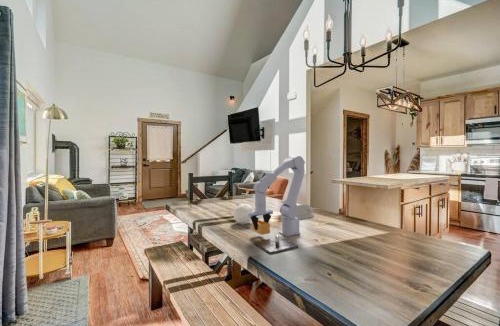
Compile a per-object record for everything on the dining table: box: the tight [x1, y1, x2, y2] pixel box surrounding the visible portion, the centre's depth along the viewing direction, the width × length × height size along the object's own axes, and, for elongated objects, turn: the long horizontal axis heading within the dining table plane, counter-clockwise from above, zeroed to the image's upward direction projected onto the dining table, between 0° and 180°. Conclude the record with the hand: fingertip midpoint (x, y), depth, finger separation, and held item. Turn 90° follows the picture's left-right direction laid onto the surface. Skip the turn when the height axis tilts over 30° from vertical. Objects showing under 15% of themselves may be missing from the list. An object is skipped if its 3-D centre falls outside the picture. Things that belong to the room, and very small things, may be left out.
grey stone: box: [296, 204, 315, 220], centre depth 179 cm, size 17×5×10 cm, turn 118°
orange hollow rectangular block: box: [251, 219, 271, 236], centre depth 136 cm, size 5×10×5 cm, turn 28°
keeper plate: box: [253, 235, 299, 255], centre depth 124 cm, size 16×15×6 cm
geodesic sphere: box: [232, 202, 254, 226], centre depth 164 cm, size 14×14×14 cm
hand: (260, 228), depth 136 cm, fingers closed on orange hollow rectangular block, 5 cm apart
